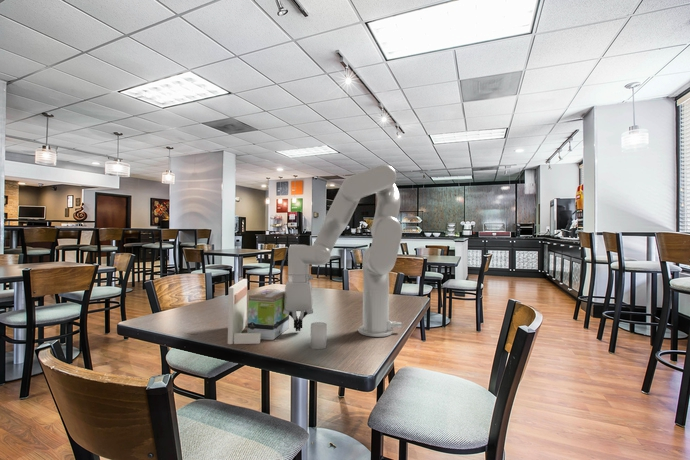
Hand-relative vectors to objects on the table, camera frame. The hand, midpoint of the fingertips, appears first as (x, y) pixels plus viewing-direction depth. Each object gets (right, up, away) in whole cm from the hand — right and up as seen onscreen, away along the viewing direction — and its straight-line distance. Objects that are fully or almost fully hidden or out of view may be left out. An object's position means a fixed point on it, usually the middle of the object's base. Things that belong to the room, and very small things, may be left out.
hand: (298, 330), depth 116 cm
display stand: (-16, -1, -1) cm, 16 cm away
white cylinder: (+8, -1, -13) cm, 16 cm away
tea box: (-10, -1, 0) cm, 10 cm away
